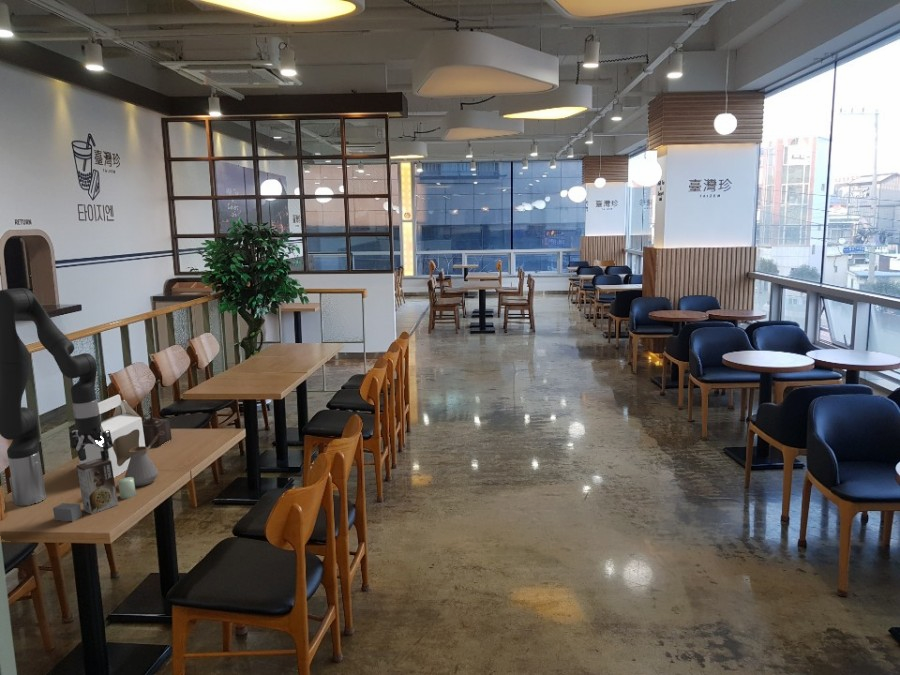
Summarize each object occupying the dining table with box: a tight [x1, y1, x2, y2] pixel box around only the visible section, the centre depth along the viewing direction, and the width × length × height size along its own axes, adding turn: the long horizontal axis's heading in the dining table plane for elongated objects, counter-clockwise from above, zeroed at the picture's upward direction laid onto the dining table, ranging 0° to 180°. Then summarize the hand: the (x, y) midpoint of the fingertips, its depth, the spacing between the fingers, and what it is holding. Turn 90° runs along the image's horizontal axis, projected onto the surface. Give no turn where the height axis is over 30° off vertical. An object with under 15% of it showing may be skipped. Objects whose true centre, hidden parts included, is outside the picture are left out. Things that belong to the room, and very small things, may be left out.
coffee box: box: [76, 458, 119, 515], centre depth 232 cm, size 9×6×16 cm
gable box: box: [78, 394, 145, 479], centre depth 268 cm, size 22×13×28 cm, turn 170°
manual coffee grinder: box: [133, 406, 173, 448], centre depth 295 cm, size 16×11×18 cm
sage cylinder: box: [117, 477, 137, 500], centre depth 242 cm, size 5×5×6 cm
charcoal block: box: [52, 502, 83, 523], centre depth 226 cm, size 7×4×4 cm, turn 76°
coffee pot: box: [124, 431, 165, 487], centre depth 258 cm, size 21×12×15 cm, turn 170°
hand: (94, 460), depth 231 cm, fingers open, 8 cm apart
